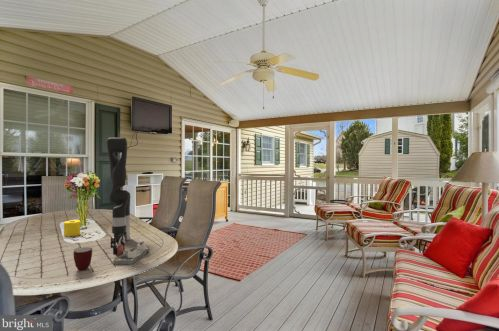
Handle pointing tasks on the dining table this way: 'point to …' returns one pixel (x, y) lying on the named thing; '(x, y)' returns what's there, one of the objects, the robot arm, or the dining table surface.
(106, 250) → the dining table surface
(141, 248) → the toggle
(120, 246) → the cap
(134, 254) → the toggle
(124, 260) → the panel
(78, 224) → the yellow cylinder
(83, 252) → the mug
